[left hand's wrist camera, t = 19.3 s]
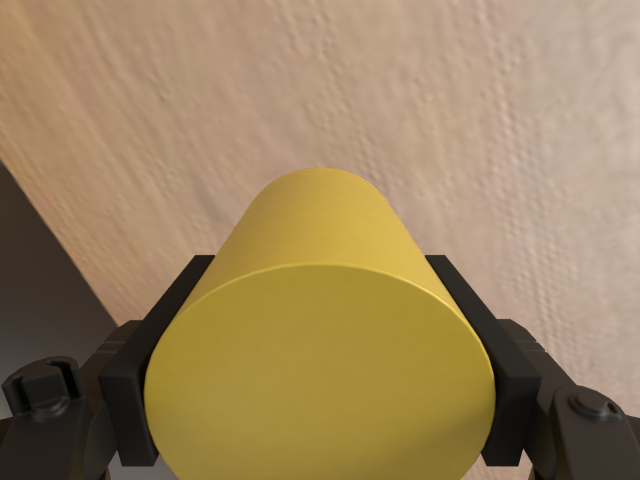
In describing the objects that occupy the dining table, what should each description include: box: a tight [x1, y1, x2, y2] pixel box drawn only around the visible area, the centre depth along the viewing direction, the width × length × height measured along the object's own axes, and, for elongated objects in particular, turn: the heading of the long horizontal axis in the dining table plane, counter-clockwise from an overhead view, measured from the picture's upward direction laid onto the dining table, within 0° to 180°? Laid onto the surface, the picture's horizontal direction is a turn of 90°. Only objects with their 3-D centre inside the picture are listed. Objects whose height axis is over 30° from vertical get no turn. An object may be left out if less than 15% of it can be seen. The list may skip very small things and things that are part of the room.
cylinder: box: [144, 168, 496, 480], centre depth 13 cm, size 8×8×10 cm
